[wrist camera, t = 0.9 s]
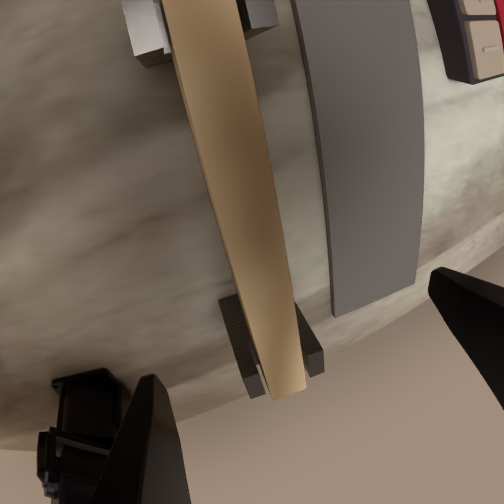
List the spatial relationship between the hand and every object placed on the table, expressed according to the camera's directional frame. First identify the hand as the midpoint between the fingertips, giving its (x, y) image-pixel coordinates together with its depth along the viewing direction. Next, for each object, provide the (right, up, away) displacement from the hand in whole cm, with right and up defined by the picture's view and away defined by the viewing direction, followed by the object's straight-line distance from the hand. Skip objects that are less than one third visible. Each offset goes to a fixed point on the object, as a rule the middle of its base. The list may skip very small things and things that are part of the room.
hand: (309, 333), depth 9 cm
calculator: (+16, +24, +7) cm, 30 cm away
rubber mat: (+7, +10, +12) cm, 17 cm away
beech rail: (-2, +4, +7) cm, 8 cm away
